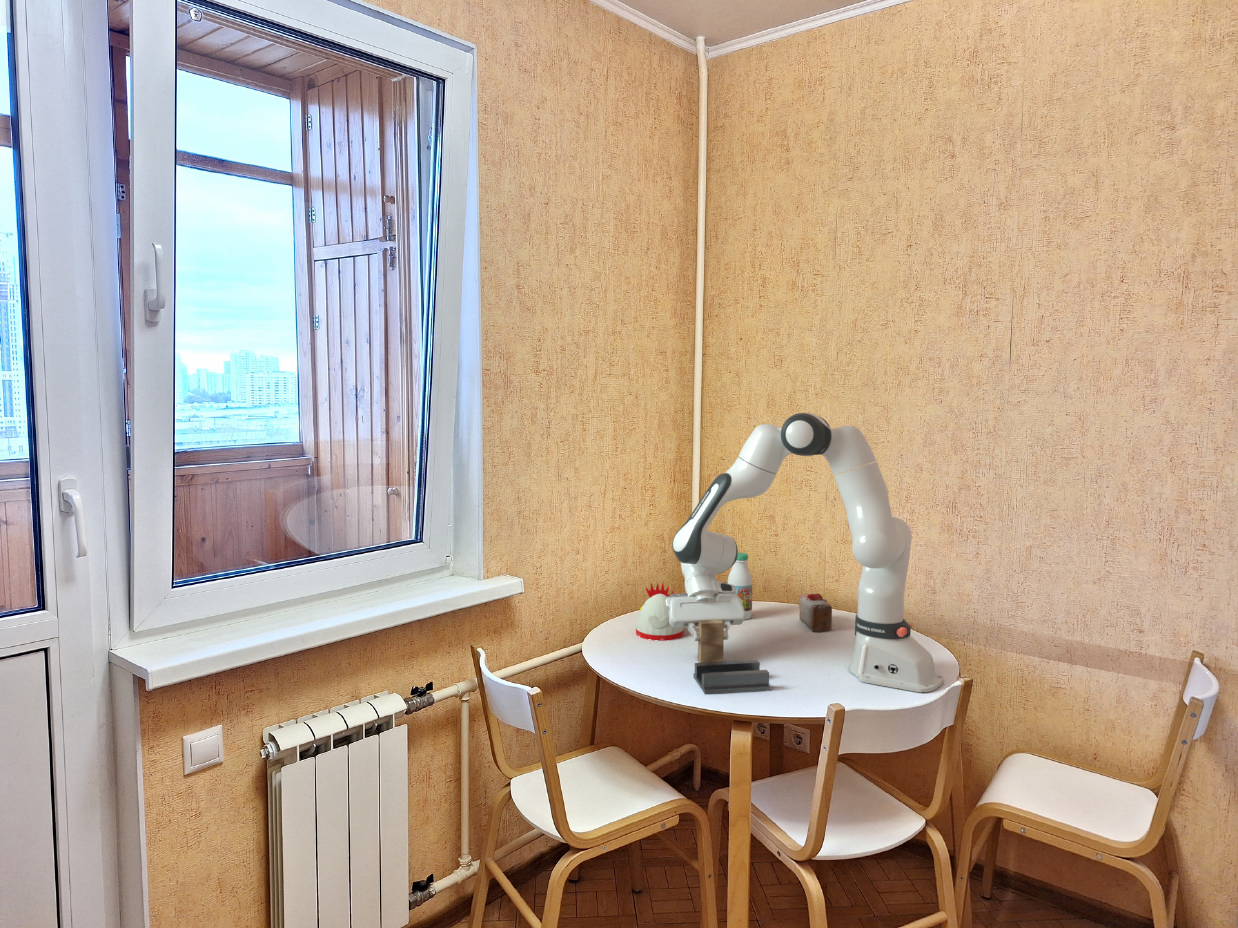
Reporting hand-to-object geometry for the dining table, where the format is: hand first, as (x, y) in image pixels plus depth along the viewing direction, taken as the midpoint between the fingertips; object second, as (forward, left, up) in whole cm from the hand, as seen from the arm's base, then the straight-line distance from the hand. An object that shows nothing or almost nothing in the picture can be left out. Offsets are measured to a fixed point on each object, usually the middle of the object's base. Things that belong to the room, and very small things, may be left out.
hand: (711, 639), depth 209 cm
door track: (-12, +9, -6) cm, 16 cm away
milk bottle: (+16, -40, -7) cm, 44 cm away
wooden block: (0, 0, -6) cm, 6 cm away
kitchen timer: (+25, -11, -7) cm, 29 cm away
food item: (-6, -48, -7) cm, 49 cm away
